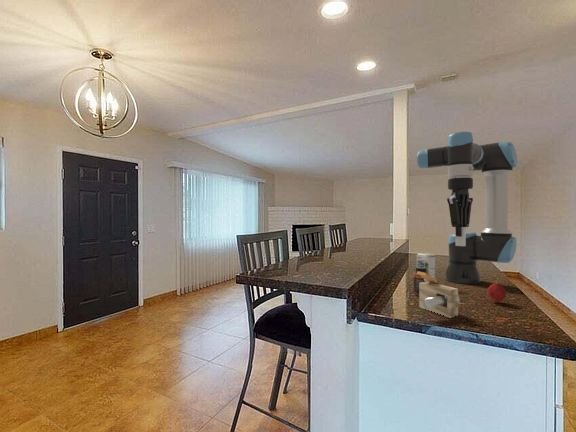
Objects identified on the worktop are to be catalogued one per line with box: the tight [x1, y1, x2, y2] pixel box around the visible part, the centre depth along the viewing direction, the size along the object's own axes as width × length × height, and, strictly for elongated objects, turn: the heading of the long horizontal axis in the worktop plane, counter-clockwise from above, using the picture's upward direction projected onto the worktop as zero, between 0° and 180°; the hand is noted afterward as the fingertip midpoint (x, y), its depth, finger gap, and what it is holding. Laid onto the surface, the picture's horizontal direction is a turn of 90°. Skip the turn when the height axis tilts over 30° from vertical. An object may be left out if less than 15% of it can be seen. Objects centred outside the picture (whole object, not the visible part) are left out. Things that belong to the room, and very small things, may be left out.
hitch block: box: [418, 281, 459, 319], centre depth 105 cm, size 4×12×9 cm, turn 26°
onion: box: [486, 281, 507, 304], centre depth 113 cm, size 6×6×8 cm
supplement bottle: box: [412, 266, 429, 297], centre depth 125 cm, size 6×6×11 cm
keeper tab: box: [417, 271, 440, 284], centre depth 107 cm, size 8×4×1 cm, turn 116°
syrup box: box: [416, 252, 436, 279], centre depth 141 cm, size 6×6×14 cm
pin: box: [422, 294, 461, 309], centre depth 101 cm, size 13×5×5 cm, turn 116°
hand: (460, 245), depth 106 cm, fingers closed
